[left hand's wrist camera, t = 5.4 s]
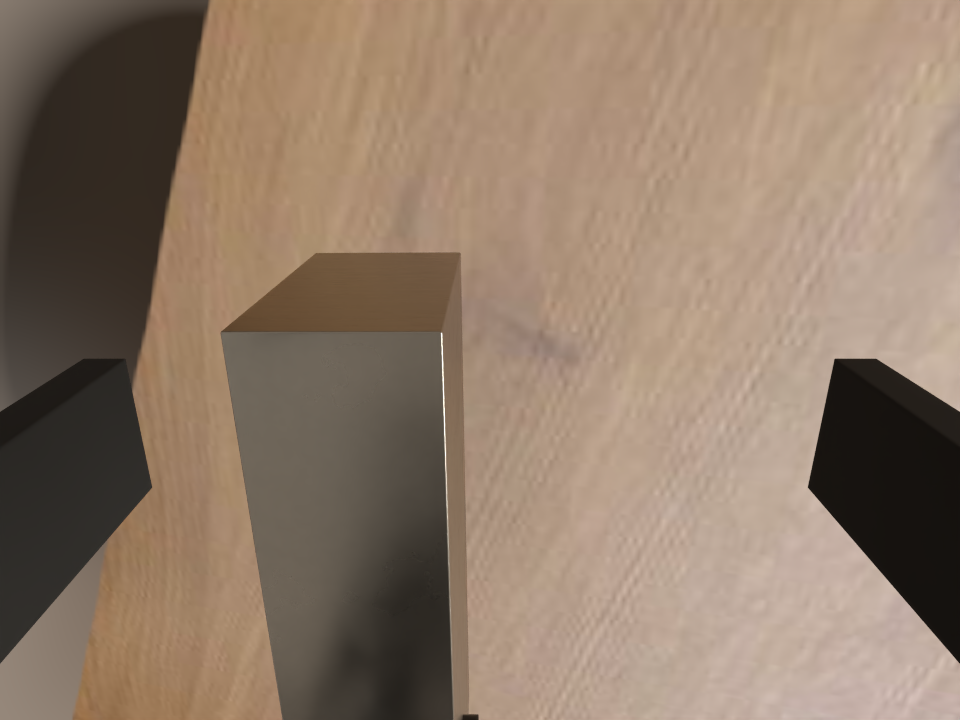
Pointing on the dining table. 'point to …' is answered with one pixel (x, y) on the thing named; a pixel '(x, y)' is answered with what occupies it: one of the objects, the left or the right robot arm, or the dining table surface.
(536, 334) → the dining table surface
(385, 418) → the bar
